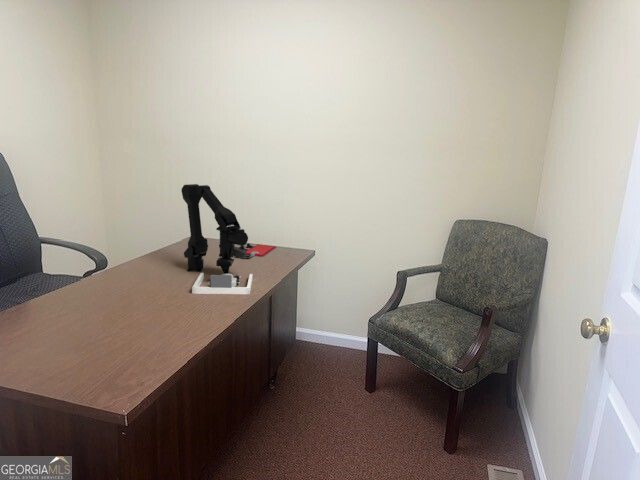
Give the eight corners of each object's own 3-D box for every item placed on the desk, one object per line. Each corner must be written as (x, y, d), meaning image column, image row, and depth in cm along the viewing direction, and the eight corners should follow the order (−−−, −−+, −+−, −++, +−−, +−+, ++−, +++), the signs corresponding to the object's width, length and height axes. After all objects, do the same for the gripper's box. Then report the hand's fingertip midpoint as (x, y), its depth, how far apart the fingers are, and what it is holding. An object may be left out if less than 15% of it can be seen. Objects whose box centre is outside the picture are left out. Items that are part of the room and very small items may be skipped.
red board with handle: (230, 257, 220) (257, 261, 217) (230, 252, 219) (257, 255, 216) (251, 245, 249) (276, 248, 246) (252, 241, 248) (276, 244, 245)
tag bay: (192, 293, 166) (191, 275, 164) (200, 278, 184) (200, 261, 183) (249, 294, 168) (249, 276, 166) (252, 279, 187) (252, 262, 185)
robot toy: (213, 282, 183) (207, 291, 168) (213, 272, 182) (207, 280, 168) (242, 282, 184) (238, 292, 170) (242, 272, 184) (238, 281, 169)
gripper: (243, 247, 172) (243, 283, 176) (247, 237, 190) (246, 270, 194) (216, 246, 171) (216, 283, 175) (222, 236, 189) (222, 269, 193)
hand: (226, 276), depth 184 cm, fingers closed
